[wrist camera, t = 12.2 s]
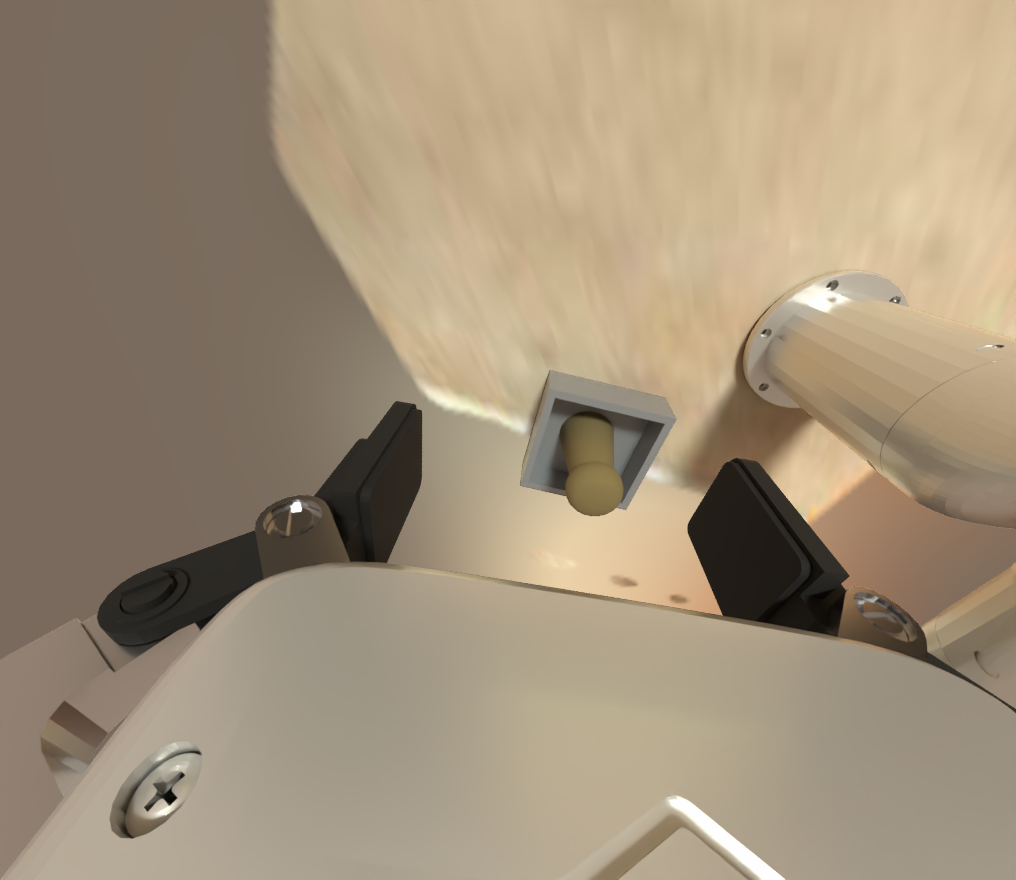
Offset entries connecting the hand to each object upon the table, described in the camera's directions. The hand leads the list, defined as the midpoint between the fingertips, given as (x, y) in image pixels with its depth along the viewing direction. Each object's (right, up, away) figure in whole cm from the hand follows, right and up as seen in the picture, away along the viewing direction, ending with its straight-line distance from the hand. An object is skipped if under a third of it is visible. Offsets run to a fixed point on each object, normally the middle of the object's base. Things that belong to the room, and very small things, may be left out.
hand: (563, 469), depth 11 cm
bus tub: (+8, +2, +30) cm, 31 cm away
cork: (+7, +2, +30) cm, 30 cm away
